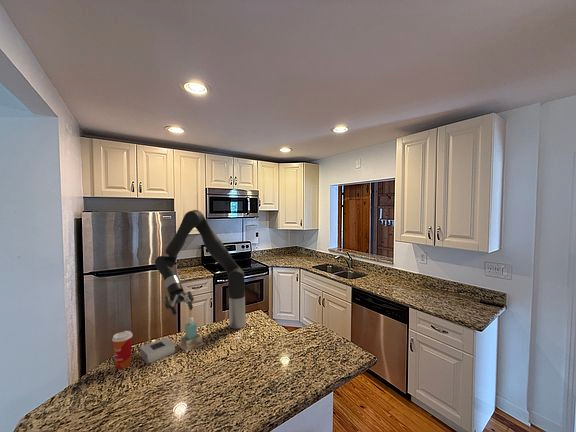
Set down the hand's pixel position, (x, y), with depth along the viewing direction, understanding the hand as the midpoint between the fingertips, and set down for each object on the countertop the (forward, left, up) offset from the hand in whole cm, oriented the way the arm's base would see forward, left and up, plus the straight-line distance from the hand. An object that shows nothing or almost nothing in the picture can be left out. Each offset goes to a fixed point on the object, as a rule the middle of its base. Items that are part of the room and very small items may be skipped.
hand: (183, 311), depth 135 cm
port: (+15, -3, -15) cm, 22 cm away
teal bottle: (+4, +7, -14) cm, 16 cm away
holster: (+4, +7, -15) cm, 17 cm away
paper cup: (+25, -13, -15) cm, 32 cm away
